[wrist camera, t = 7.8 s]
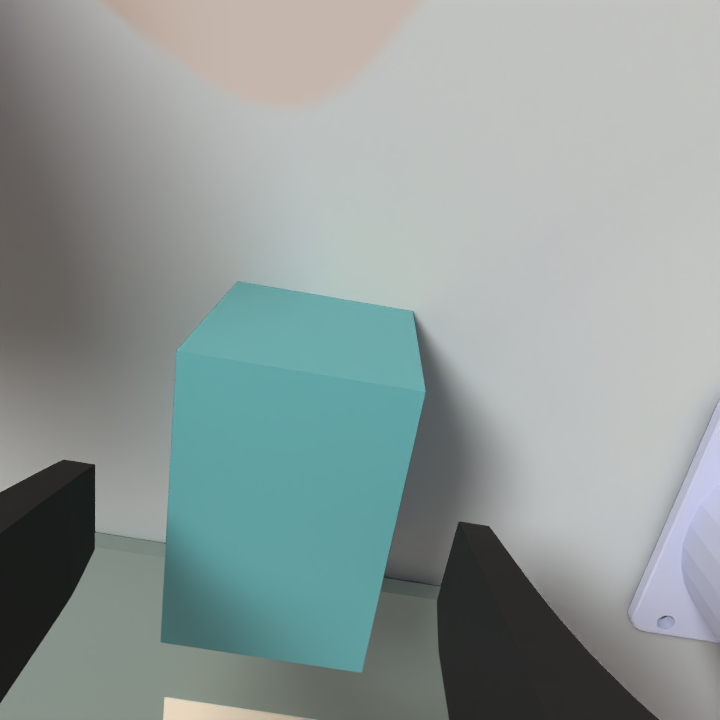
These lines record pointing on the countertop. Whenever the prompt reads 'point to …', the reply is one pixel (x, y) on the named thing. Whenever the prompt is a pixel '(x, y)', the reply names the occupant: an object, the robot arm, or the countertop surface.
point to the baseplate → (215, 659)
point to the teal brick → (287, 474)
